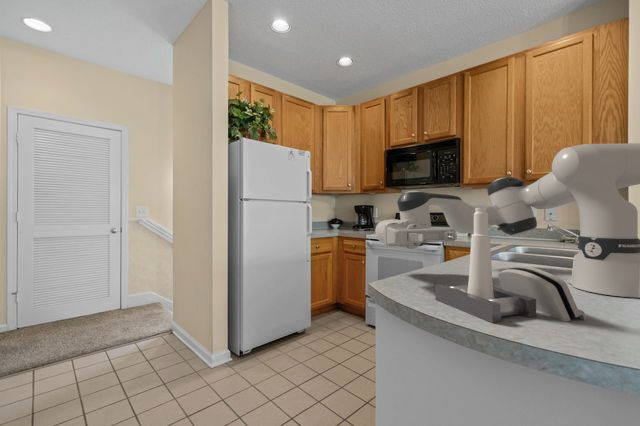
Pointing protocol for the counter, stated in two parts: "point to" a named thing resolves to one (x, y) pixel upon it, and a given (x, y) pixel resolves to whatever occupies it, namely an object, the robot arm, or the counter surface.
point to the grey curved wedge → (541, 291)
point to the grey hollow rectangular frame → (486, 302)
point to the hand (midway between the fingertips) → (439, 237)
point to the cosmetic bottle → (480, 258)
